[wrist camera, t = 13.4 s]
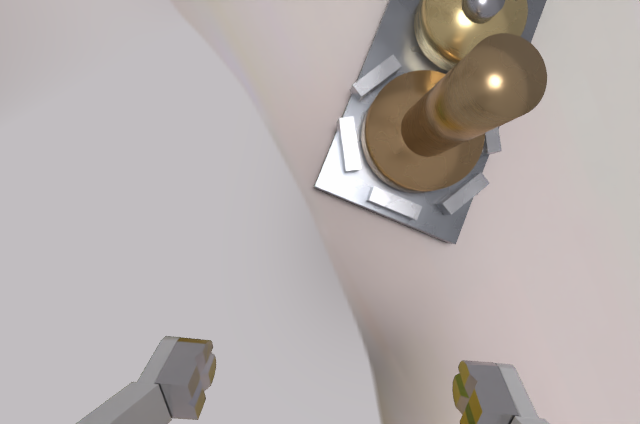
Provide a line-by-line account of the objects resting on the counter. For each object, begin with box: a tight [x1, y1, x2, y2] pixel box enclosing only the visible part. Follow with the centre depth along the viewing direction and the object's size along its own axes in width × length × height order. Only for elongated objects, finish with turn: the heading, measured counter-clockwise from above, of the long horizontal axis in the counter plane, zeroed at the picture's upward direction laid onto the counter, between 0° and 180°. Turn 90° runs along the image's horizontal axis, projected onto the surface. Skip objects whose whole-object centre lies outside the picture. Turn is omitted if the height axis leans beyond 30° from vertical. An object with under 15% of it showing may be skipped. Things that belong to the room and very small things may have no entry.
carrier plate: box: [314, 0, 546, 244], centre depth 23 cm, size 12×21×5 cm, turn 158°
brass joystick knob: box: [361, 33, 547, 193], centre depth 19 cm, size 8×8×10 cm
